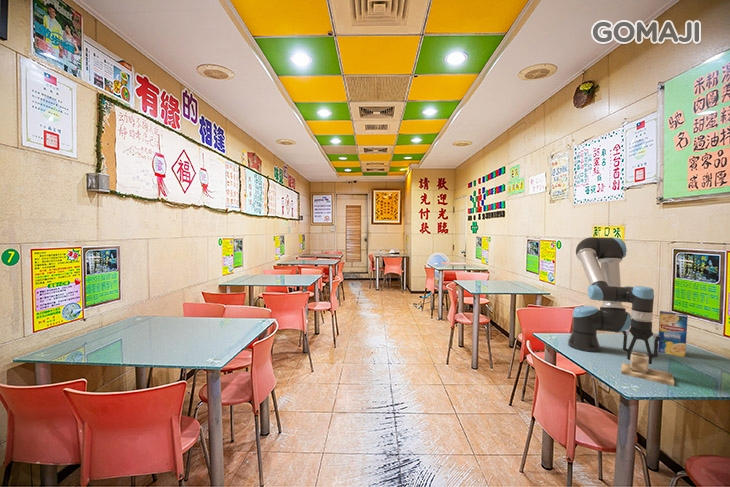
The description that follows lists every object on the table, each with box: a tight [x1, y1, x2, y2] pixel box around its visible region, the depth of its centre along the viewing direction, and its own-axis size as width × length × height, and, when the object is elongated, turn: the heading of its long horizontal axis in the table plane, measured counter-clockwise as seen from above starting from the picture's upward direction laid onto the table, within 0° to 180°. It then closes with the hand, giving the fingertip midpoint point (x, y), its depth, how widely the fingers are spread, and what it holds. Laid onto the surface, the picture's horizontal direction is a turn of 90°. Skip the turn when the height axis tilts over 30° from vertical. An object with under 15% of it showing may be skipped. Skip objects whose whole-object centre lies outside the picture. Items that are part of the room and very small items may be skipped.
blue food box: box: [658, 310, 688, 358], centre depth 179 cm, size 7×11×22 cm, turn 49°
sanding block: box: [632, 351, 648, 374], centre depth 152 cm, size 5×8×7 cm, turn 141°
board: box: [620, 362, 675, 387], centre depth 150 cm, size 18×12×2 cm, turn 50°
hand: (638, 368), depth 152 cm, fingers closed on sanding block, 5 cm apart
